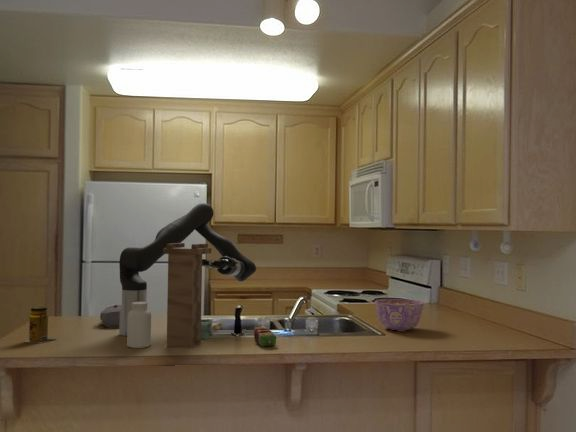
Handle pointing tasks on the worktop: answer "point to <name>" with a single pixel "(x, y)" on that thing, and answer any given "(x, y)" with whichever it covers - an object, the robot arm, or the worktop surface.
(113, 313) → the soft grey pack
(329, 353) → the worktop surface
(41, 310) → the condiment
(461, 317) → the worktop surface
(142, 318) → the pill bottle
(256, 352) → the worktop surface
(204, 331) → the pull block
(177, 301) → the brown wooden pedestal
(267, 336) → the green red box
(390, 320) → the bowl of food
